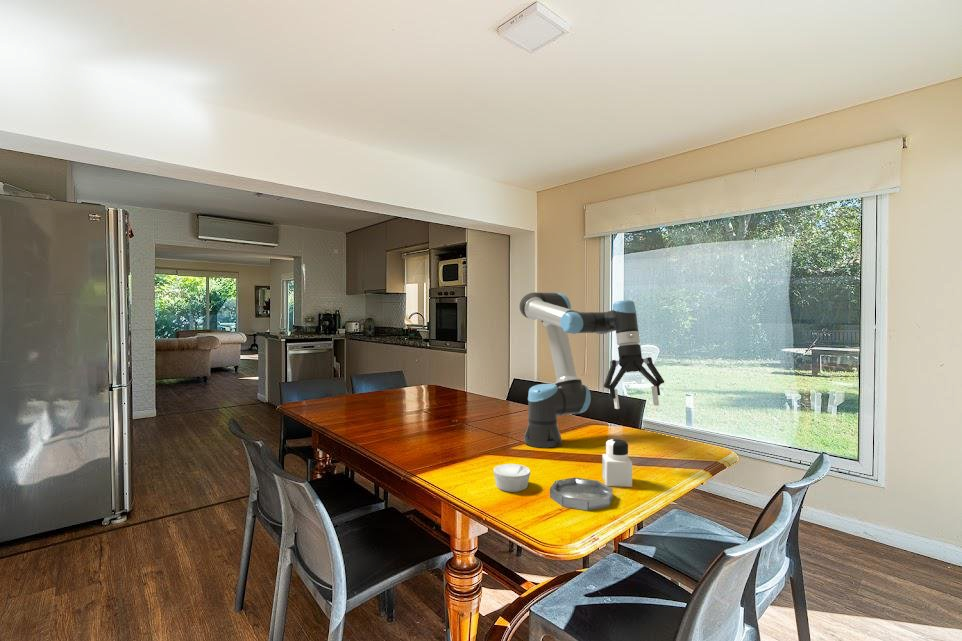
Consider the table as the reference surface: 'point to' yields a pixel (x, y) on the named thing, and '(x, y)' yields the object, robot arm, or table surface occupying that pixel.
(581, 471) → the table surface
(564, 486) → the grey octagonal shallow tray
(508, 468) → the ramekin
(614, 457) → the container
